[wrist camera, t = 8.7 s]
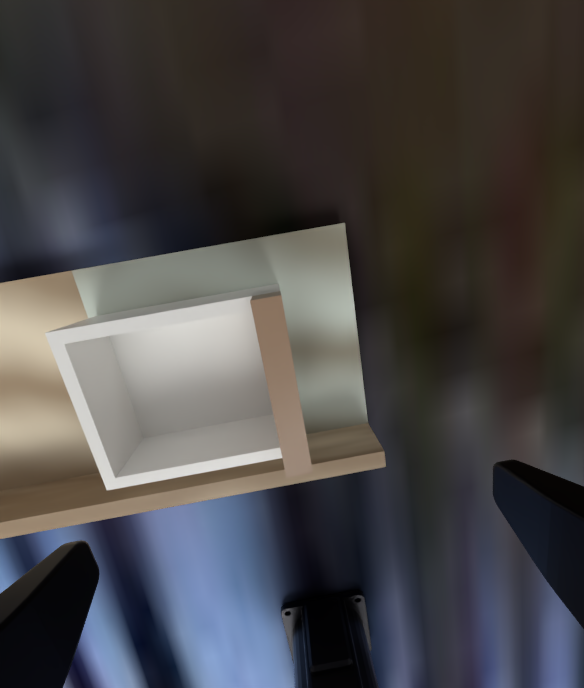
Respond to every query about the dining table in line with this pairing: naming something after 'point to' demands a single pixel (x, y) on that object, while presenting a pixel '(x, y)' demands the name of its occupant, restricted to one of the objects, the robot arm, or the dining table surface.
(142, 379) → the drawer
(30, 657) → the robot arm
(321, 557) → the dining table surface
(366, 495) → the dining table surface
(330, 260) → the beige shallow tray
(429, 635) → the dining table surface
